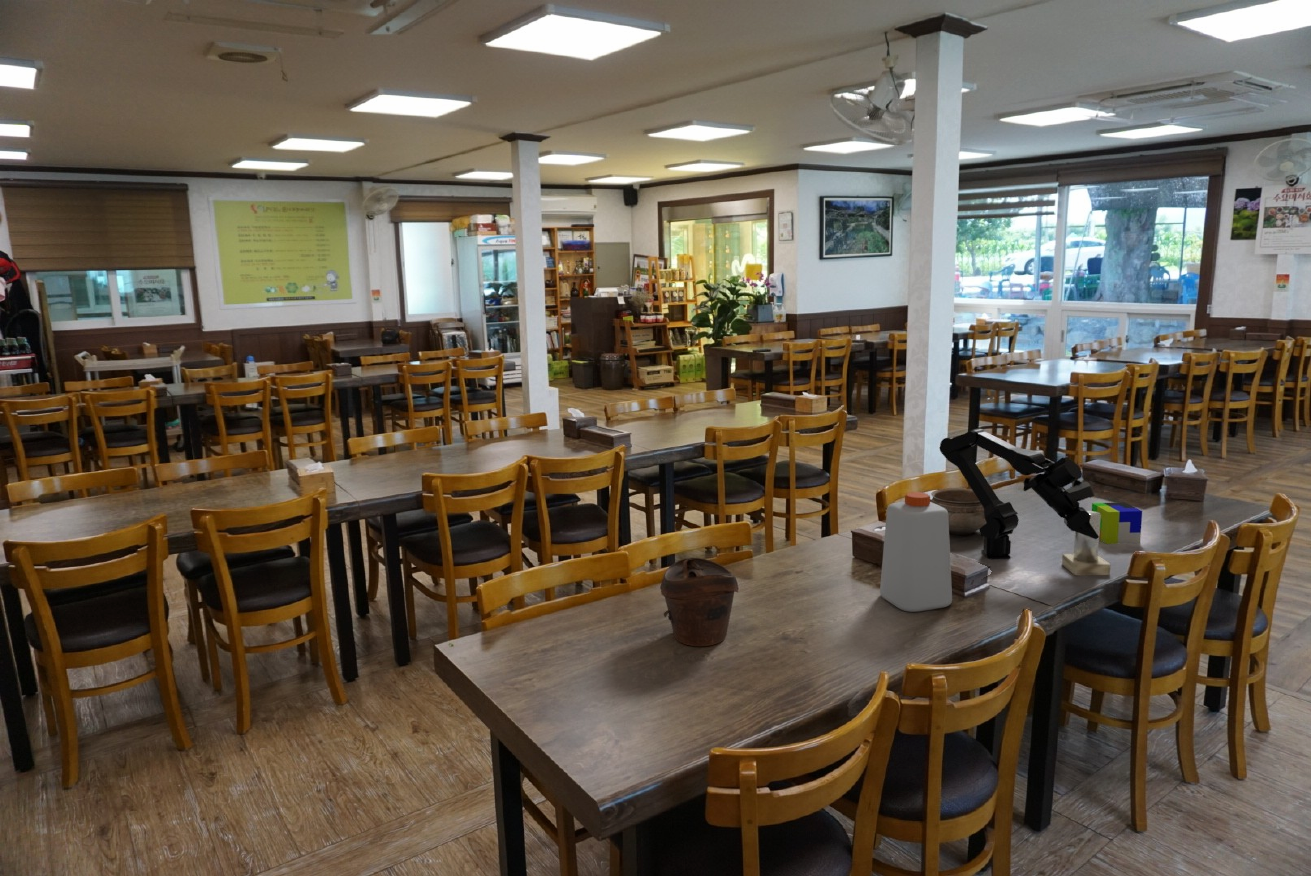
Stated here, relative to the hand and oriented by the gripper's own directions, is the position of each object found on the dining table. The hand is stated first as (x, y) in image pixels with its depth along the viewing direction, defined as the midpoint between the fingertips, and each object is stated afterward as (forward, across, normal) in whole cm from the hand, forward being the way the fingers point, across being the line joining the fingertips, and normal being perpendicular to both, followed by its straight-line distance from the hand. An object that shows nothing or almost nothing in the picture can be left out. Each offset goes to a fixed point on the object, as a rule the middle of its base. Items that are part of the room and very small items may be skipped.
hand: (1093, 532), depth 232 cm
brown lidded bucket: (-62, -59, +77) cm, 115 cm away
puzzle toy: (+17, +30, -2) cm, 35 cm away
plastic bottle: (-26, -30, +42) cm, 57 cm away
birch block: (+6, 0, +8) cm, 11 cm away
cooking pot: (-14, +31, +30) cm, 45 cm away
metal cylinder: (+4, 0, +6) cm, 8 cm away
